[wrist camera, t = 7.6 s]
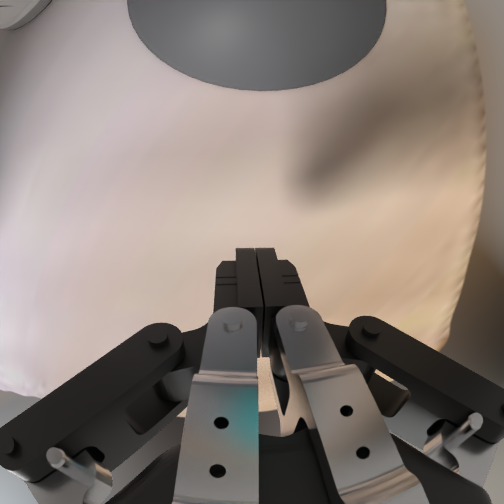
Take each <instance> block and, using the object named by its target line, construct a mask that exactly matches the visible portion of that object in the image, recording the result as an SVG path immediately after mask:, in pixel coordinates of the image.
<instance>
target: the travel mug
mask: <svg viewBox="0 0 504 504" xmlns="http://www.w3.org/2000/svg"><path fill="white" fill-rule="evenodd" d="M50 2H51V0H0V29H5V30H14V29H17V28H19V27H21V26H23V25H25V24H26V23H28V22H30V21H31V20H32V19H33V18H35V17H36V16H37V15H38V14H39V13H40V12H41V11H42V10H43V9H44V8H45V7H46V6H47V5H48V4H49V3H50Z"/></svg>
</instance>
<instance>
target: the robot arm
mask: <svg viewBox="0 0 504 504" xmlns="http://www.w3.org/2000/svg"><path fill="white" fill-rule="evenodd" d="M260 350H261V354H262V357H269V358H270V365H271V366H270V380H271V384H272V388H273V392H274V397H275V401H276V405H277V409H278V413H279V417H280V423H281V437H276V436H268V435H262V434H258V376H257V358H260ZM376 369H377V370H379V371H380V372H382V373H384V374H385V375H387V376H389V377H390V378H392V379H393V380H395V381H397V382H398V383H400V384H402V385H404V386H405V387H407V388H408V390H402V389H400V388H399V387H397V386H395V385H393V384H392V383H391V382H389V381H387V380H386V379H384V378H382V377H381V376H379V375H377V374H376V373H374V372H375V370H376ZM186 407H187V412H186V418H185V424H184V430H183V436H182V443H181V444H180V445H177V446H175V447H173V448H171V449H169V450H167V451H165V452H164V453H163V454H161V455H160V456H159V457H157V458H156V459H155V460H154V461H153V462H152V463H151V464H150V465H149V466H147V467H146V468H145V469H144V470H143V471H142V472H141V473H140V474H139V475H138V476H136V478H134V480H132V481H131V482H130V483H129V484H128V485H127V486H125V487H124V488H123V489H122V490H121V491H120V492H118V493H117V494H116V495H115V496H114V497H112V498H111V499H110V500H109V501H107V502H106V503H105V504H492V503H491V499H490V497H489V495H488V493H487V492H486V491H485V490H484V489H483V488H482V487H483V485H484V483H485V480H486V478H487V475H488V473H489V470H490V467H491V465H492V462H493V459H494V456H495V453H496V450H497V446H498V443H499V441H500V440H501V439H503V438H504V389H503V388H501V387H500V386H498V385H496V384H494V383H493V382H491V381H489V380H487V379H486V378H484V377H482V376H480V375H479V374H477V373H475V372H473V371H471V370H469V369H468V368H466V367H464V366H463V365H461V364H459V363H457V362H455V361H454V360H452V359H450V358H448V357H446V356H445V355H443V354H441V353H439V352H438V351H436V350H434V349H432V348H431V347H429V346H427V345H425V344H423V343H422V342H420V341H418V340H416V339H414V338H413V337H411V336H409V335H407V334H405V333H404V332H402V331H400V330H398V329H397V328H395V327H393V326H391V325H389V324H388V323H386V322H384V321H382V320H380V319H378V318H376V317H372V316H360V317H357V318H355V319H354V320H352V322H351V323H350V325H349V327H347V326H340V325H334V324H329V323H326V322H324V321H323V320H322V318H321V316H320V315H319V313H318V312H316V311H315V310H314V309H312V308H310V306H309V304H308V301H307V298H306V295H305V292H304V289H303V287H302V284H301V281H300V278H299V277H298V273H297V270H296V268H295V266H294V265H293V264H291V263H290V262H289V261H288V260H277V256H276V252H275V249H274V248H255V249H254V248H236V261H222V262H221V263H220V265H219V266H218V267H217V269H216V282H215V296H214V312H213V314H212V315H211V317H210V318H209V321H208V323H207V324H206V325H204V326H202V327H201V328H198V329H195V330H192V331H188V332H183V333H181V331H180V330H179V329H178V328H177V327H176V326H174V325H172V324H168V323H154V324H151V325H148V326H146V327H144V328H143V329H141V330H140V331H139V332H137V333H136V334H134V335H133V336H131V337H130V338H128V339H127V340H126V341H124V342H123V343H121V344H120V345H118V346H117V347H116V348H114V349H113V350H111V351H110V352H108V353H107V354H106V355H104V356H103V357H101V358H100V359H98V360H97V361H96V362H94V363H93V364H91V365H90V366H88V367H87V368H86V369H84V370H83V371H81V372H80V373H78V374H77V375H75V376H74V377H73V378H71V379H70V380H68V381H67V382H65V383H64V384H63V385H61V386H60V387H58V388H57V389H55V390H54V391H53V392H51V393H50V394H48V395H47V396H45V397H44V398H43V399H41V400H40V401H38V402H37V403H35V404H34V405H33V406H31V407H30V408H28V409H27V410H25V411H24V412H22V413H21V414H20V415H18V416H17V417H15V418H14V419H12V420H11V421H10V422H8V423H7V424H5V425H4V426H2V427H1V428H0V465H1V466H2V467H4V468H5V469H7V470H8V471H10V472H11V473H13V474H15V475H16V476H18V477H19V478H21V479H22V480H23V481H24V482H25V483H26V484H27V486H28V488H29V489H30V491H31V492H32V494H33V496H34V497H35V499H36V500H37V502H38V503H39V504H102V503H103V501H104V499H105V498H106V497H107V496H108V495H109V493H110V492H111V490H112V486H113V480H112V476H111V473H110V472H111V471H112V470H114V469H115V468H116V467H118V466H119V465H120V464H121V463H123V462H124V461H125V460H126V459H128V458H129V457H130V456H131V455H132V454H134V453H135V452H136V451H137V450H138V449H140V448H141V447H142V446H143V445H144V444H146V443H147V442H148V441H149V440H150V439H151V438H153V437H154V436H155V435H156V434H157V433H158V432H159V431H161V430H162V429H163V428H164V427H165V426H166V425H167V424H168V423H170V422H171V421H172V420H173V419H174V418H175V417H176V416H177V415H178V414H180V413H181V412H182V411H183V410H184V409H185V408H186ZM389 430H390V431H392V432H393V433H395V434H397V435H398V436H400V437H401V438H403V439H405V440H406V441H408V442H410V443H411V444H413V445H415V446H417V447H418V448H420V449H422V450H423V453H424V454H423V453H421V452H420V451H418V450H417V449H415V448H413V447H412V446H410V445H409V444H407V443H406V442H404V441H403V440H401V439H399V438H398V437H397V436H395V435H393V434H391V433H390V432H389Z"/></svg>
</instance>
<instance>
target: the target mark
mask: <svg viewBox="0 0 504 504" xmlns="http://www.w3.org/2000/svg"><path fill="white" fill-rule="evenodd" d="M127 4H128V11H129V16H130V19H131V22H132V25H133V28H134V29H135V31H136V33H137V35H138V36H139V38H140V39H141V41H142V42H143V43H144V44H145V45H146V47H147V48H148V49H149V50H150V51H151V52H152V53H153V54H155V55H156V56H157V57H158V58H159V59H160V60H162V61H163V62H165V63H166V64H168V65H169V66H171V67H172V68H174V69H176V70H178V71H180V72H182V73H184V74H186V75H188V76H190V77H193V78H195V79H198V80H201V81H203V82H206V83H210V84H214V85H218V86H222V87H227V88H234V89H240V90H253V91H278V90H286V89H294V88H300V87H304V86H308V85H313V84H316V83H319V82H322V81H325V80H328V79H330V78H332V77H335V76H337V75H339V74H341V73H343V72H345V71H346V70H348V69H349V68H351V67H352V66H354V65H355V64H357V63H358V62H359V61H360V60H361V59H362V58H363V57H364V56H366V55H367V53H368V52H369V51H370V50H371V48H372V47H373V46H374V45H375V43H376V41H377V39H378V38H379V36H380V34H381V31H382V28H383V25H384V21H385V14H386V0H127Z"/></svg>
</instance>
